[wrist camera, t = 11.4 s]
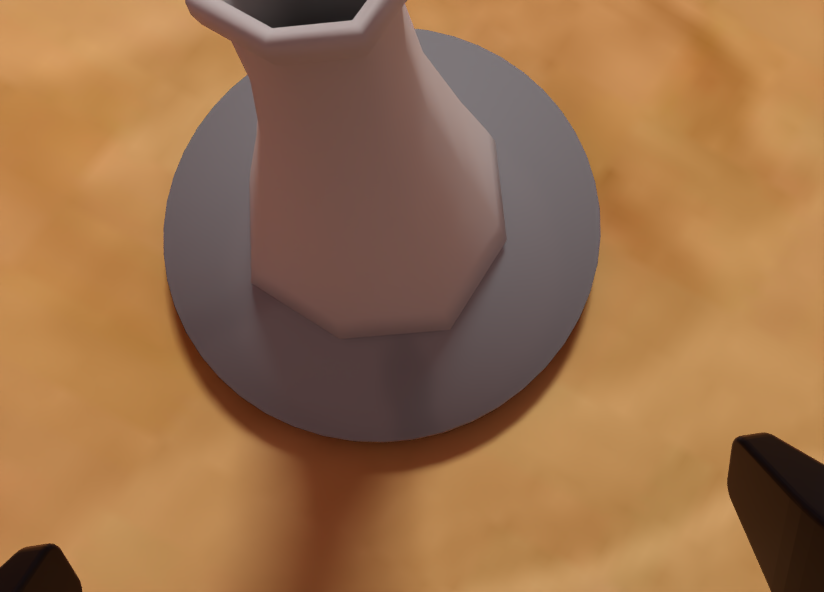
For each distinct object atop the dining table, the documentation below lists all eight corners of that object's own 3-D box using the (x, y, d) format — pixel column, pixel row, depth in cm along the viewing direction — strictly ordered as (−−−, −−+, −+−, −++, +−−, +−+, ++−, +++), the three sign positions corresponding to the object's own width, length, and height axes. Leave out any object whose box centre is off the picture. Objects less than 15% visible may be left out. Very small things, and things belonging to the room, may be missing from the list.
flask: (289, 75, 20) (135, -304, 10) (533, 123, 19) (625, -235, 9) (212, 310, 18) (-61, 132, 8) (476, 373, 17) (515, 259, 8)
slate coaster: (614, 435, 17) (622, 434, 17) (161, 449, 18) (149, 448, 17) (574, 33, 20) (579, 15, 20) (186, 54, 21) (176, 38, 20)
